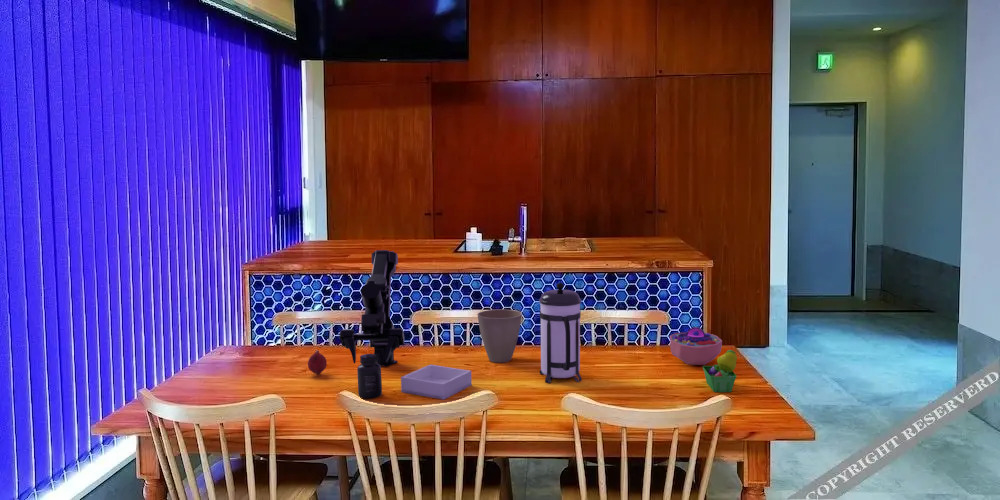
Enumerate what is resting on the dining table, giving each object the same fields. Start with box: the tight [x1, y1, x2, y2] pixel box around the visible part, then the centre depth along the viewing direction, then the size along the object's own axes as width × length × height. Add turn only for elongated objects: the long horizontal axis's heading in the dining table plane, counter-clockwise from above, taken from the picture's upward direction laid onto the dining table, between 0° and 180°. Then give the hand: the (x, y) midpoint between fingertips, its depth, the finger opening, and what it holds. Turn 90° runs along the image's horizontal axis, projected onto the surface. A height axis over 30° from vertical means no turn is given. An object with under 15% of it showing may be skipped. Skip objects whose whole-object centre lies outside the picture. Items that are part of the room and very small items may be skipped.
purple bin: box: [400, 364, 472, 400], centre depth 228 cm, size 15×15×4 cm
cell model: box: [669, 326, 723, 366], centre depth 251 cm, size 17×20×11 cm
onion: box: [307, 349, 328, 376], centre depth 244 cm, size 6×6×8 cm
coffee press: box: [538, 282, 583, 384], centre depth 234 cm, size 17×16×30 cm
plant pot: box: [477, 309, 523, 363], centre depth 258 cm, size 15×15×16 cm
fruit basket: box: [702, 349, 738, 393], centre depth 225 cm, size 11×9×11 cm
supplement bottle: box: [356, 353, 383, 400], centre depth 222 cm, size 7×7×12 cm
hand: (370, 362), depth 224 cm, fingers open, 9 cm apart
